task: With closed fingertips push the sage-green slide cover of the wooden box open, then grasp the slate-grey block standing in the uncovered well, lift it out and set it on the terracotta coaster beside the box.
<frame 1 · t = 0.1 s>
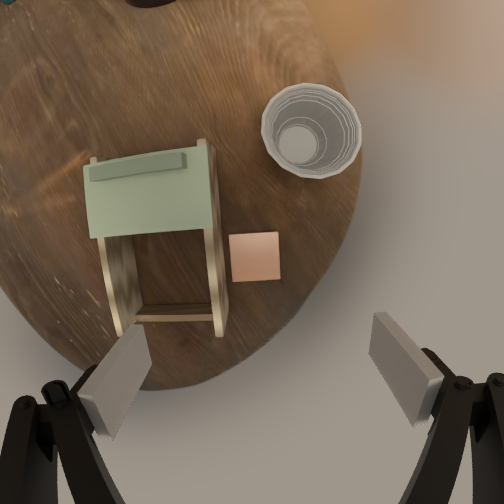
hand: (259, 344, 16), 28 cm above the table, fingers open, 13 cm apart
terracotta coaster: (254, 256, 43), on the table
cover: (139, 194, 30), point 11 cm above the table, slide at 0.0 cm
wooden box: (171, 235, 43), on the table
plastic cup: (296, 143, 40), on the table
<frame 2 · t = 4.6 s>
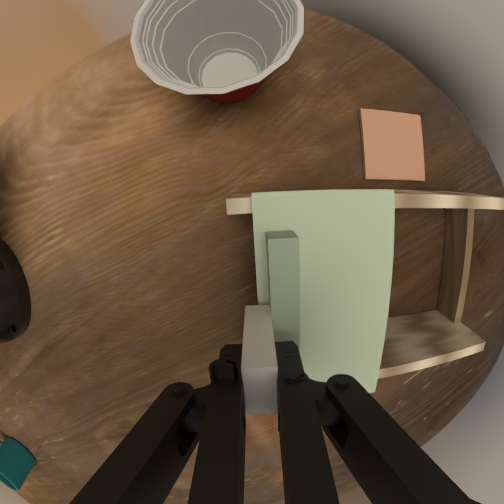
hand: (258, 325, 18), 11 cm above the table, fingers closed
terracotta coaster: (392, 145, 26), on the table
cover: (330, 317, 18), point 11 cm above the table, slide at 0.6 cm, touching gripper
wooden box: (359, 264, 29), on the table
plastic cup: (227, 78, 25), on the table
cup: (17, 444, 39), on the table
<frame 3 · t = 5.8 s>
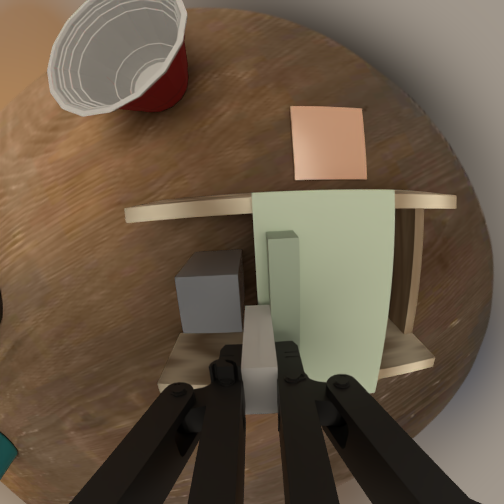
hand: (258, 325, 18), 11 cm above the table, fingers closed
terracotta coaster: (328, 143, 26), on the table
cover: (330, 317, 18), point 11 cm above the table, slide at 7.5 cm, touching gripper
slate block: (220, 273, 29), on the table
wooden box: (292, 269, 29), on the table
plastic cup: (158, 87, 25), on the table
cup: (1, 436, 39), on the table
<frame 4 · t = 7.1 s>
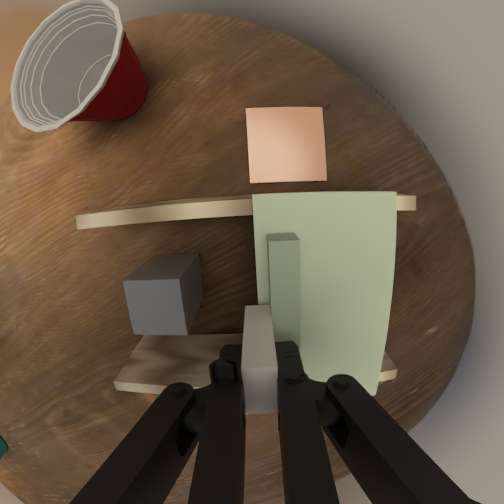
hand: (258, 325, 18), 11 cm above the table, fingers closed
terracotta coaster: (286, 144, 26), on the table
cover: (331, 320, 18), point 11 cm above the table, slide at 11.7 cm, touching gripper
slate block: (179, 276, 29), on the table
wooden box: (250, 273, 29), on the table
plastic cup: (121, 95, 25), on the table
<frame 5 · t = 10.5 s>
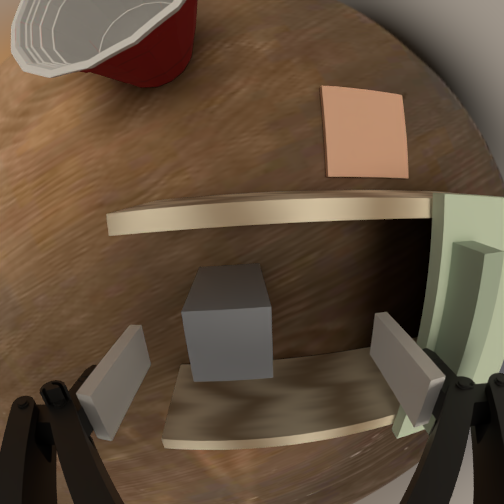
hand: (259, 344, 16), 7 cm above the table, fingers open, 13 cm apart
terracotta coaster: (365, 133, 20), on the table
cover: (487, 333, 13), point 11 cm above the table, slide at 14.4 cm
slate block: (231, 293, 23), on the table
wooden box: (320, 286, 23), on the table
plastic cup: (154, 58, 18), on the table
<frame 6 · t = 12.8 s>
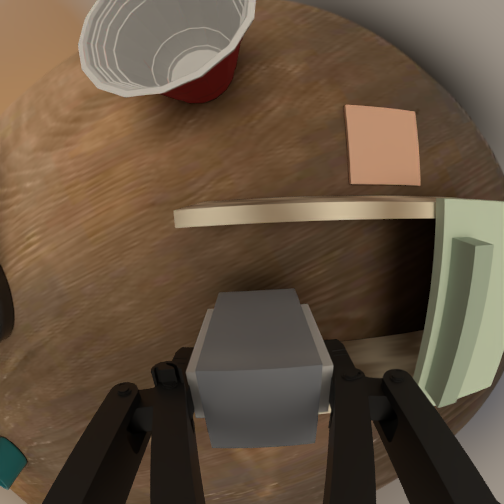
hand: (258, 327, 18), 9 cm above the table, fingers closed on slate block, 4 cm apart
terracotta coaster: (383, 145, 23), on the table
cover: (486, 317, 15), point 11 cm above the table, slide at 14.5 cm
slate block: (258, 324, 18), point 8 cm above the table, touching gripper
wooden box: (343, 279, 26), on the table
plastic cup: (199, 77, 23), on the table
cup: (9, 444, 38), on the table
when the fingers open (1 cm above the table, at t = 17.9 s): slate block stays where it is, resting on terracotta coaster.
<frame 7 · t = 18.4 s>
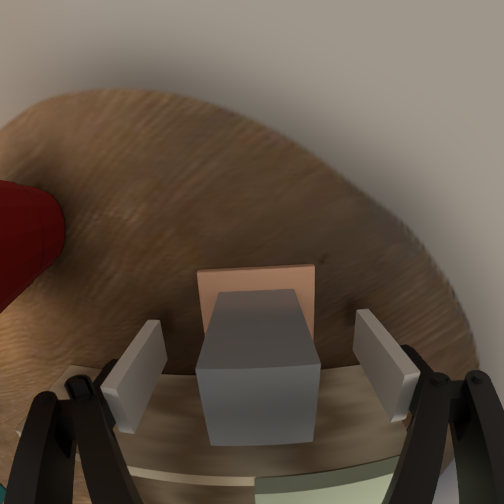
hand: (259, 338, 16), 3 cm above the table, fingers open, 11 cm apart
terracotta coaster: (258, 318, 19), on the table
slate block: (257, 323, 18), point 1 cm above the table, touching terracotta coaster
wooden box: (218, 440, 22), on the table
plastic cup: (38, 228, 18), on the table
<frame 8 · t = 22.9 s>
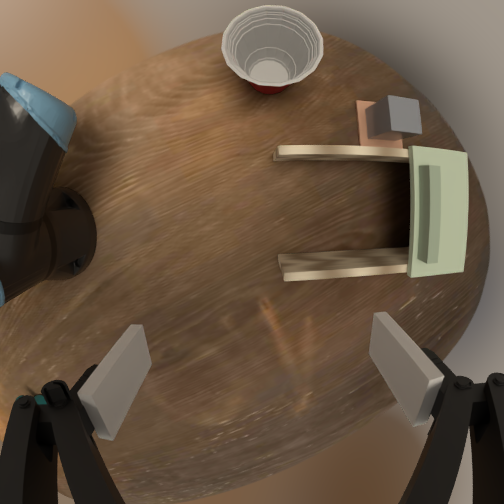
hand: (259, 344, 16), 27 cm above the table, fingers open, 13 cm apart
terracotta coaster: (378, 125, 38), on the table
cover: (446, 213, 29), point 11 cm above the table, slide at 14.5 cm
slate block: (380, 124, 37), point 1 cm above the table, touching terracotta coaster
wooden box: (358, 205, 40), on the table
plastic cup: (267, 77, 36), on the table
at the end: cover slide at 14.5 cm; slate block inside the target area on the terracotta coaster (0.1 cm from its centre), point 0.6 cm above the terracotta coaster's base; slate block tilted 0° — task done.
